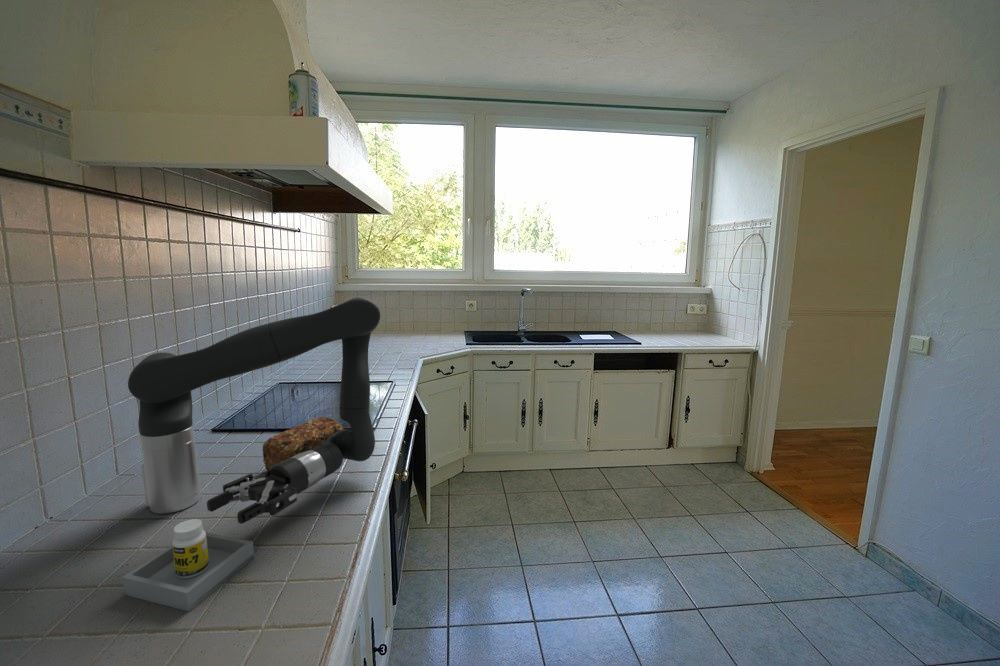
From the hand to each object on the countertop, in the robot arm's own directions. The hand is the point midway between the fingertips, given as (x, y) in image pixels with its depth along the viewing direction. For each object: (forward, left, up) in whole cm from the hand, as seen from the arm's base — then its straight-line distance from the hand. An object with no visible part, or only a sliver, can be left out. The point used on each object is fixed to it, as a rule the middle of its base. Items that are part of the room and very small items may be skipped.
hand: (223, 512), depth 81 cm
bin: (-1, -6, -8) cm, 10 cm away
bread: (-11, +36, -9) cm, 38 cm away
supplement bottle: (-1, -6, -8) cm, 10 cm away
